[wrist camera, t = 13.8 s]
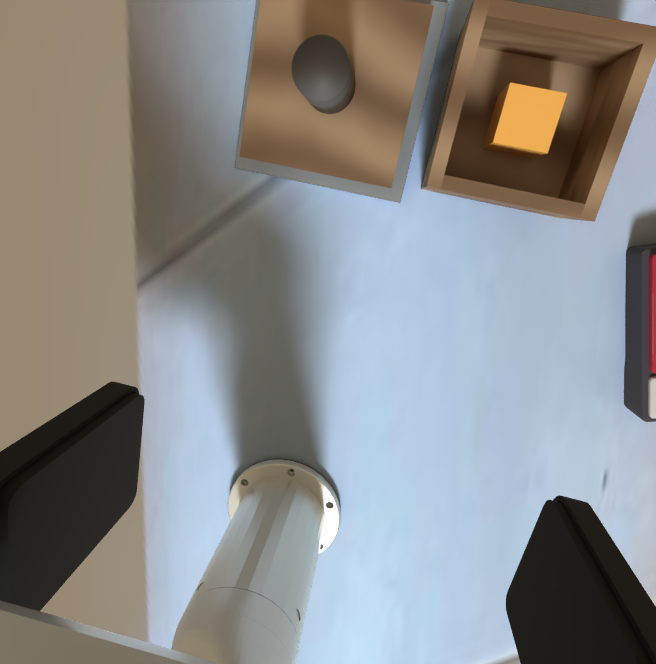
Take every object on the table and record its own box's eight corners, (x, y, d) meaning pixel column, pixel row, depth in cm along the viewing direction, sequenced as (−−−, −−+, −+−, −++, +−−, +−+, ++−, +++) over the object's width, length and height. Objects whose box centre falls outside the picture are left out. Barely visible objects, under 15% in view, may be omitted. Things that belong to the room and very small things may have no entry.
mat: (400, 202, 40) (400, 202, 39) (238, 168, 41) (234, 167, 40) (446, 8, 35) (448, 3, 34) (264, -25, 37) (260, -31, 36)
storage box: (559, 218, 38) (594, 221, 32) (421, 188, 39) (426, 186, 33) (614, 61, 35) (666, 28, 28) (460, 33, 36) (475, -6, 29)
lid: (391, 189, 39) (391, 186, 32) (246, 158, 40) (217, 149, 33) (431, 16, 35) (440, -28, 28) (270, -13, 36) (242, -62, 29)
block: (531, 158, 37) (547, 153, 33) (482, 148, 37) (492, 142, 33) (548, 104, 35) (567, 93, 32) (497, 95, 36) (510, 82, 32)
